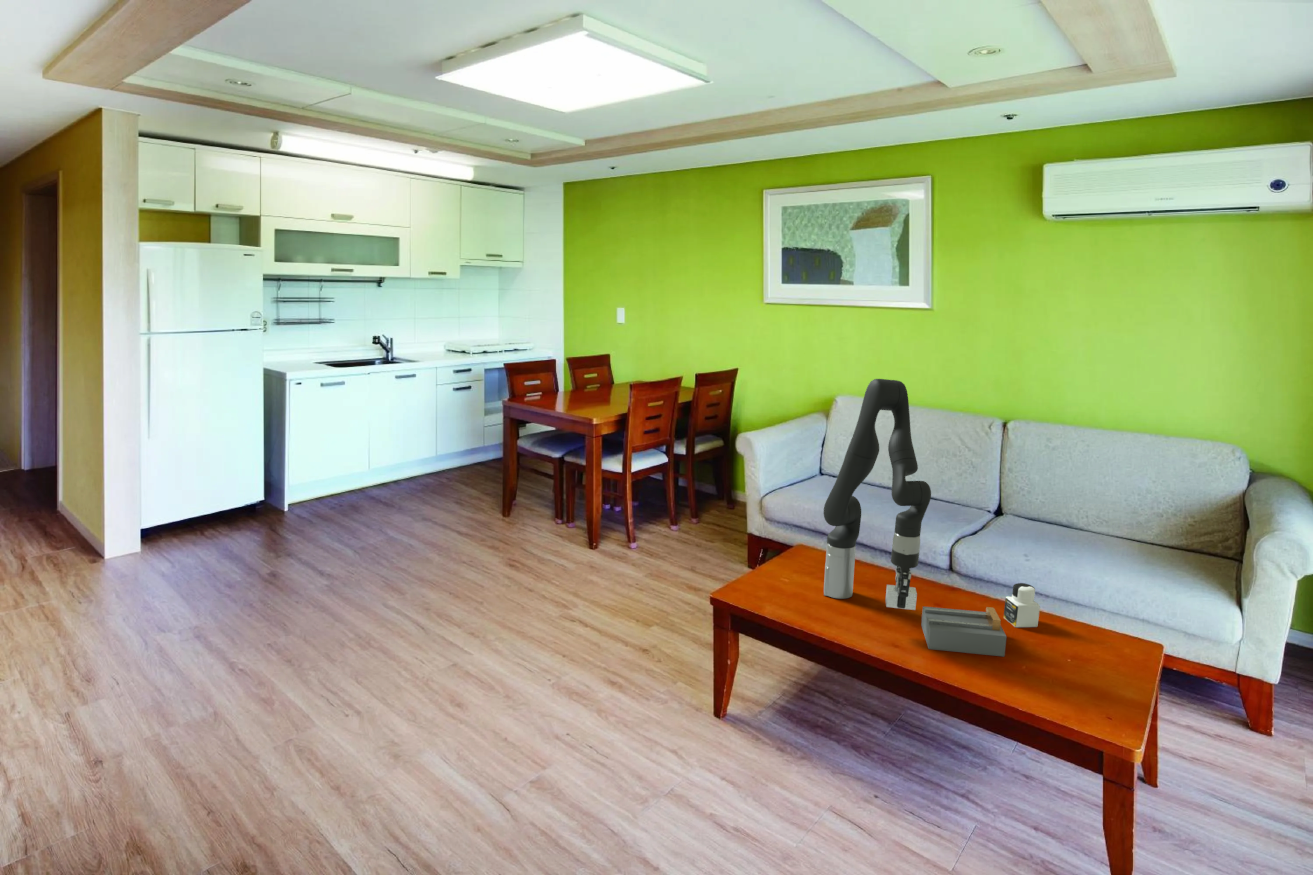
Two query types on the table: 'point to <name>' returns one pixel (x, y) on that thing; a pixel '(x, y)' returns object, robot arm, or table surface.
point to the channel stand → (964, 631)
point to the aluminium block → (893, 597)
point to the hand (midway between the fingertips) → (900, 603)
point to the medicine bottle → (1022, 606)
